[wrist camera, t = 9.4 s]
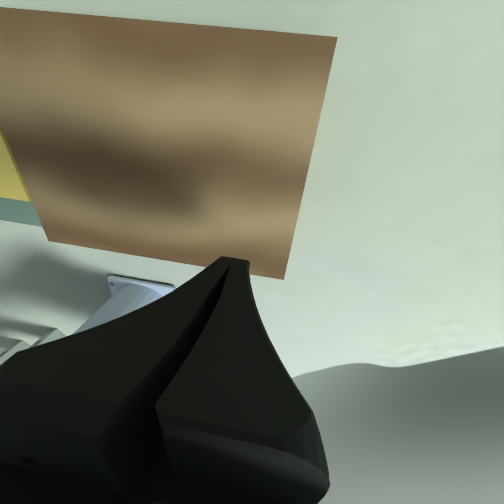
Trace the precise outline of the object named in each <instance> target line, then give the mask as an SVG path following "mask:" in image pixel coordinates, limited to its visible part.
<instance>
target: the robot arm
mask: <svg viewBox="0 0 504 504" xmlns="http://www.w3.org/2000/svg"><path fill="white" fill-rule="evenodd" d="M249 269H250V262H249V261H248V260H244V259H238V258H232V257H225V256H221V257H219V258H218V259H217V260H215V261H214V262H213V263H212V264H210V265H209V266H208V267H206V268H205V269H204V270H203V271H201V272H200V273H198V274H197V275H196V276H194V277H193V278H192V279H190V280H189V281H187V282H186V283H184V284H183V285H181V286H180V287H178V288H177V289H176V288H175V287H173V286H170V285H164V284H159V283H153V282H147V281H141V280H135V279H130V278H124V277H118V276H112V275H110V276H109V277H108V278H107V281H108V285H109V288H110V292H111V295H112V297H111V298H110V299H109V300H108V301H107V302H106V303H105V304H104V305H103V306H102V307H101V308H100V309H99V310H98V311H97V312H96V313H94V314H93V315H92V316H91V317H90V318H89V319H88V320H87V321H86V322H85V323H84V324H83V325H82V326H81V327H80V328H79V329H78V330H77V331H76V332H74V333H73V334H72V335H70V336H67V337H63V338H60V339H57V340H54V341H50V342H47V343H44V344H41V345H38V346H34V347H31V348H28V349H24V350H21V351H17V352H16V353H15V354H13V355H12V356H11V357H10V358H8V359H7V360H6V361H5V362H3V363H2V364H1V365H0V504H318V503H319V501H320V500H321V499H322V498H323V497H324V496H325V494H326V493H327V491H328V489H329V486H330V481H329V471H328V466H327V461H326V456H325V452H324V447H323V443H322V440H321V436H320V432H319V429H318V426H317V422H316V419H315V416H314V413H313V411H312V409H311V408H310V406H309V405H308V403H307V402H306V400H305V399H304V397H303V396H302V395H301V393H300V391H299V390H298V388H297V387H296V385H295V383H294V382H293V380H292V379H291V377H290V375H289V374H288V372H287V370H286V369H285V367H284V365H283V363H282V362H281V360H280V358H279V356H278V354H277V352H276V350H275V348H274V346H273V345H272V343H271V341H270V339H269V337H268V334H267V332H266V330H265V328H264V325H263V323H262V320H261V318H260V315H259V312H258V310H257V307H256V303H255V300H254V296H253V292H252V288H251V283H250V275H249Z"/></svg>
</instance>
